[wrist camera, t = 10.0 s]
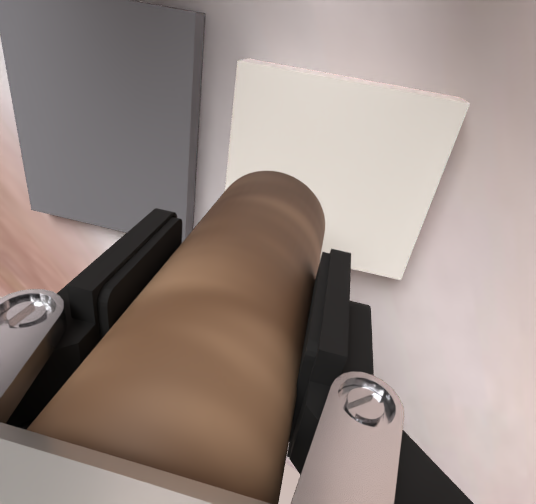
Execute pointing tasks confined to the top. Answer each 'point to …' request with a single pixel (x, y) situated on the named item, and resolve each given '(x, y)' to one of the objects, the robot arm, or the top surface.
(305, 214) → the dowel
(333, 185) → the tile
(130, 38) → the mat
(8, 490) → the robot arm
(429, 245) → the top surface
